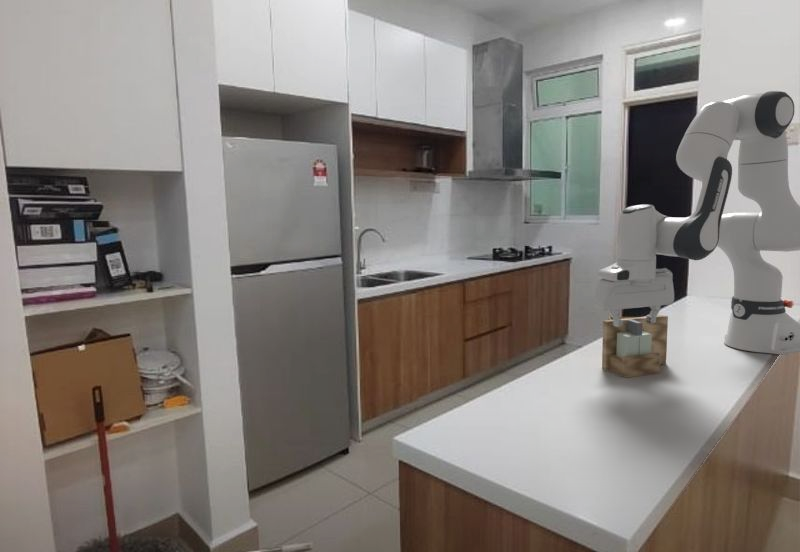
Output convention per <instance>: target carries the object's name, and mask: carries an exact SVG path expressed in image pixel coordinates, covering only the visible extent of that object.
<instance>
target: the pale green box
mask: <svg viewBox="0 0 800 552" xmlns="http://www.w3.org/2000/svg"><path fill="white" fill-rule="evenodd" d="M651 343H652V334H650V333H647V332H644V331H642V323H641V322H638V321H635V320H632V319H630V320H627V332H621V333H617V352H616V355H617V356H619V357H621V358H622V357H623V356H633V355H642V354H651Z"/></svg>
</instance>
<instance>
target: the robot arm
mask: <svg viewBox="0 0 800 552" xmlns="http://www.w3.org/2000/svg"><path fill="white" fill-rule="evenodd" d="M794 115H795V103H794V101H793V99H792V97H791V96H790V95H789V94H788V93H787V92H785V91H779V90H776V91H775V90H772V91H767V92H762V93H751V94H745V95H741V96H738V97H733V98H729V99H726V100H723V101H712V102H709V103H706V104H704V105H703V106H702V107H701V108H700V109H699V110H698V112H697V113H696V115H695V116H694V117H693V119H692V121H691V122H690V124H689V126H688V127H687V129H686V131H685V132H684V135H683V137H682V138H681V141H680V144H679V145H678V148H677V151H676V155H675V157H676V158H675V161H676V165H677V167H678V168H679V170H680V171H682V173H684V174H685V175H687V176H688V177H690V178H692V179H693V180H695V181H699V182H701V184H702V186H701V190H700V193H699V197H698V199H697V203H696V207H695V211H694V212H693V213H692V214H691V215H689V216H686V217H685V216H684V217H676V216H675V217H672V216H668V215H664V214H662V213H660V212H659V211H658V210H656V208H655V206H654V205H653V204H647V203H646V204H645V203H644V204H643V203H642V204H636V205H630V206H627V207H625V208H623V210H621V212H620V215H619V218H618V223H617V235H616V236H617V237H616V238H617V239H616V240H617V246H618V252H617V256H616V262H615V263H612V264H610V265H609V266H606V267H604V268H602V269H599V270H598V272H597V276H598V278H599V280H598V282H597V283H596V289H595V306H596V307H597V309H599V310H602V311H607V312H609V314H610V317H612V318H613V325H614V326H616V327H619V326H623V324H622V323H623V320H622V319H619V317H620V316H619V315H618V314H620V310H625V309H626V310H628V309H635V308H636V309H638V308H649V309H650V312H649V314H647V315H645V317H646V318H647V319H646V322H647V323H655V322H656V316H658V315H659V312H660V311H661V306H669V305H672V304H673V303H674V301H675V289H674V282H673V277H674V276H673V275H674V274H673V272H672V271H671V270H669V269H668V268H666V267H664V268H657V255H662V256H667V257H679V258H681V259H687V260H692V261H700V260H704V259H705V258H706V257H708V256H710V255H711V254H712V253H713V252H714V251H715V249H716V248H717V247H718V248H719V249H720V250H721V251H722V252H723V253H724V254H725V255H726V257H727V258H728V259H729V262H730V264H731V266H732V269H733V280H734V281H733V296H732V297H731V302H730V303H731V304H730V305H731V306H730V308H731V311H732V312H731V313H730V316H729V322H728V327H727V333H726V334H725V336H724V344H725V345H726V346H728V347H731V348H733V349H738V350H741V351H747V352H753V353H765V354H773V355H781V356H785V355H786V356H787V355H790V354H794V353H795V354H796V353H799V352H800V322H798V321H797V320H796V319H794V318H793V317H791V315H789V313H787V311H786V308H788V309H789V308H790V309H792V308H793V307H794V305H795V303H794V301H792V300H787V299H784V300H783V299H782V291H783V290H782V289H783V274H782V272H781V270H780V269H779V268H778V267H777V266H775V265H773V264H771V263H769V262H766V261H765V260H764V258H763V256H762V254H761V251H766V252H767V251H768V252H785V253H786V252H798V251H800V204H798V202H797V201H796V199H795V198H794V196H793V194H792V192H791V189H790V185H789V184H790V183H789V144H788V138H787V137H788V136H787V132H786V130H787V129H788V127H789V126H790V124H791V123H792V121H793V119H794ZM734 141H740V143H739V149H738V156H737V157H738V159H737V160H738V161H737V163H738V164H737V188H738V189H737V190H738V191H739V193H740V194H741V195H742V196H744V197H745V198H747V199H748V200H752V201H754V202H756V203H757V204H758V206H759V208H760V209H761V210H760V211H735V212H729V213H724V209H725V207H726V206H725V205H726V202H727V198H728V194H729V191H730V187H731V183H732V182H731V181H732V179H733V178H732V176H733V166H732V163H731V162H730V161H729V159H728V157H729V152H730V150H731V147H732V145H733V143H734Z"/></svg>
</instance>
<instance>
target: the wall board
mask: <svg viewBox="0 0 800 552" xmlns="http://www.w3.org/2000/svg"><path fill="white" fill-rule="evenodd" d="M635 317H636V318H624V319H622V320H623V323H622V324H623V326H619V327H616V326H614V325H613V320H608V319H606V320H605V319H604V320H602V352H601V353H602V356H601V357H602V358H601V359H602V360H601V369H602V370H604V371H609V372H612V373H614V374H616V375H618V376H620V377H622V378H624V379H625V378H633V377H640V376H641V377H642V376H650V375H659V374H660V365H665V364H667V348H668V347H667V346H668V326H669V325H668V323H669V322H668V321H669V316H668V315H665V314H658V315H657V316H656V322H655V323H647V322H646V319H647V318H646V316H639V317H638V316H635ZM630 319H632V320H635V321H638V322H641V323H642V331H644V332H647V333H650V334H652V343H651V354H642V355H633V356H623V357H622V358H621V357H619V356H617V355H616V352H617V333H621V332H627V320H630Z"/></svg>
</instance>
